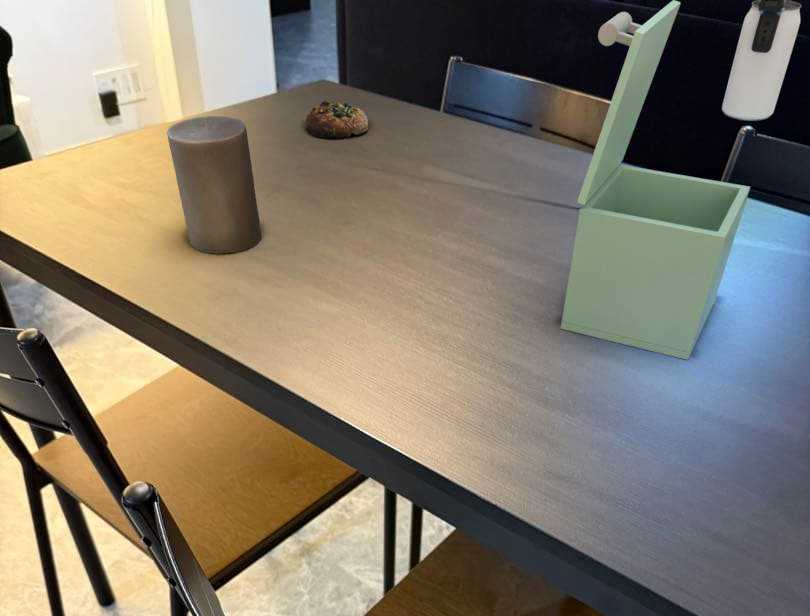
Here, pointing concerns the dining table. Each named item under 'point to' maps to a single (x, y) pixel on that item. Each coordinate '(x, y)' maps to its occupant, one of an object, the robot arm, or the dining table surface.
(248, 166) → the pillar candle
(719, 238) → the box
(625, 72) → the lid
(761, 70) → the can
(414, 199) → the dining table surface
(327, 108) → the bread roll
